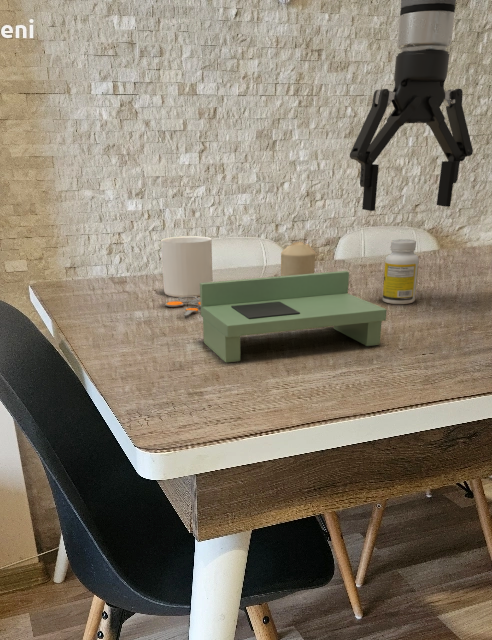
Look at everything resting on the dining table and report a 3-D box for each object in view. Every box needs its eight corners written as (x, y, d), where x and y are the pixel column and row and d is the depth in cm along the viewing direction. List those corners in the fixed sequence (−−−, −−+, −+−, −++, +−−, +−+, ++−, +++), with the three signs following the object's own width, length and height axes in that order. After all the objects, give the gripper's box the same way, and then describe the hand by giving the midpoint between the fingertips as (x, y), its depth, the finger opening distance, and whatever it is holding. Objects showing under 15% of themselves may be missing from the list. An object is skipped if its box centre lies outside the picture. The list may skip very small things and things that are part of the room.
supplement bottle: (391, 296, 116) (396, 237, 112) (420, 300, 113) (427, 239, 109) (376, 302, 113) (381, 241, 108) (405, 306, 109) (411, 244, 105)
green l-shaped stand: (383, 346, 89) (389, 285, 86) (228, 365, 83) (226, 300, 80) (342, 325, 99) (346, 270, 96) (201, 340, 94) (199, 282, 90)
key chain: (160, 301, 116) (159, 296, 115) (199, 297, 118) (199, 292, 118) (182, 317, 105) (181, 312, 105) (225, 313, 107) (225, 307, 107)
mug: (217, 295, 120) (216, 241, 116) (167, 299, 118) (164, 244, 114) (204, 283, 130) (203, 233, 126) (158, 286, 129) (155, 235, 124)
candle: (281, 301, 115) (282, 240, 110) (313, 302, 114) (316, 240, 109) (278, 308, 110) (279, 245, 105) (312, 309, 109) (314, 245, 104)
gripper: (479, 54, 103) (459, 202, 113) (333, 52, 96) (325, 209, 106) (512, 49, 96) (487, 206, 106) (358, 46, 90) (347, 214, 100)
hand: (406, 208), depth 106 cm, fingers open, 13 cm apart
